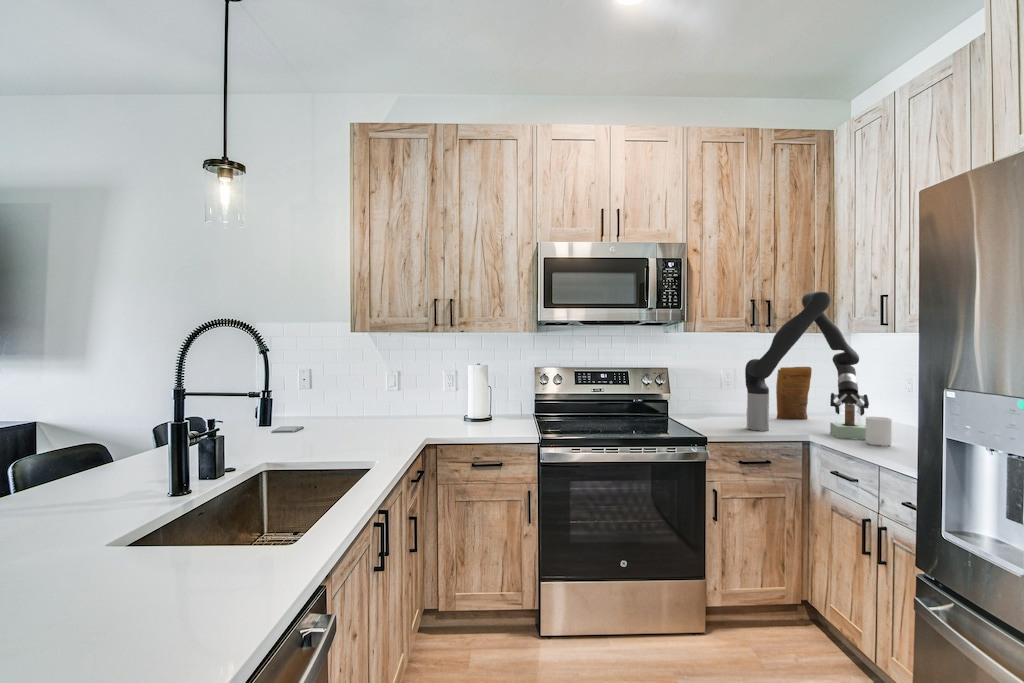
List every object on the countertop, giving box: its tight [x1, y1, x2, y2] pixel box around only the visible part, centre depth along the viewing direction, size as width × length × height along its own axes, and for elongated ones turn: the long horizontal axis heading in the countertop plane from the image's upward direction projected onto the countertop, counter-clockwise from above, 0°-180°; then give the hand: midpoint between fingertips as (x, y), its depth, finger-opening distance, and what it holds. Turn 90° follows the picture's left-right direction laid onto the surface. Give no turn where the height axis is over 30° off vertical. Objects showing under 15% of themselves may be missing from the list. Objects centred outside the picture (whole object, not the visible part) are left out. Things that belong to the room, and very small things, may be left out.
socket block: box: [829, 421, 866, 440], centre depth 227 cm, size 12×12×5 cm
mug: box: [865, 416, 893, 447], centre depth 212 cm, size 9×12×11 cm
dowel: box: [844, 403, 856, 426], centre depth 227 cm, size 4×4×14 cm
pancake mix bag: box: [775, 366, 812, 420], centre depth 275 cm, size 7×19×28 cm, turn 88°
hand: (850, 413), depth 226 cm, fingers open, 8 cm apart
